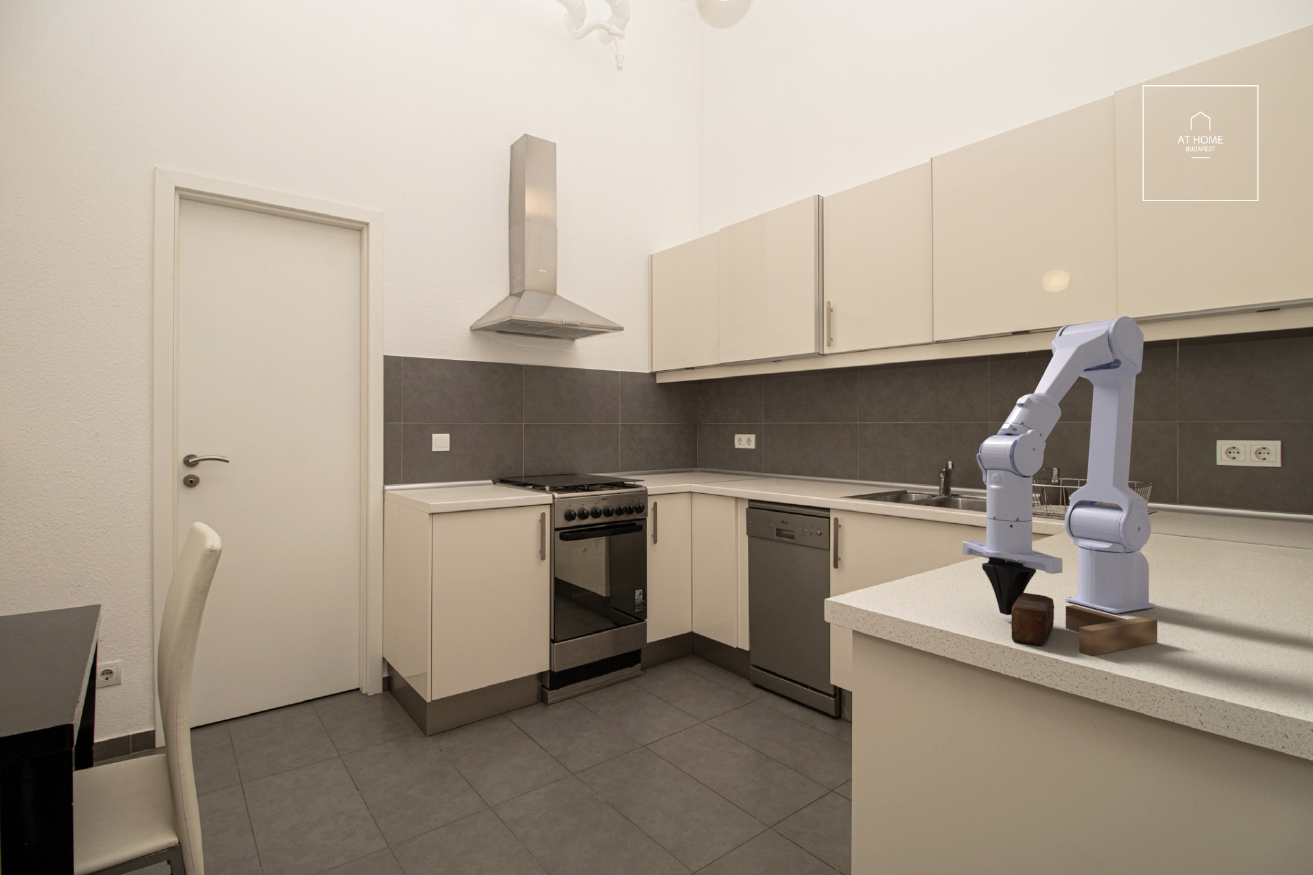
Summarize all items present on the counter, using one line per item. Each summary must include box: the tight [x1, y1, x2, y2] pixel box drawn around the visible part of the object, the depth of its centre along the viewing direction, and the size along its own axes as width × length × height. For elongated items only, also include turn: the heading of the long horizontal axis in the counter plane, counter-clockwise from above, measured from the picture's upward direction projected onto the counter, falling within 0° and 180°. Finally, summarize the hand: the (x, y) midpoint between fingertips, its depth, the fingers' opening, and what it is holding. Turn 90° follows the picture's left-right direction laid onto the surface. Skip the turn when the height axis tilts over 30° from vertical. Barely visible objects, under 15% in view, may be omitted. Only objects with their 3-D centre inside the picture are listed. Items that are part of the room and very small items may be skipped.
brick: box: [1011, 592, 1055, 647], centre depth 84 cm, size 11×4×5 cm, turn 143°
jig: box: [1065, 604, 1158, 657], centre depth 82 cm, size 12×8×3 cm
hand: (1008, 613), depth 90 cm, fingers closed
